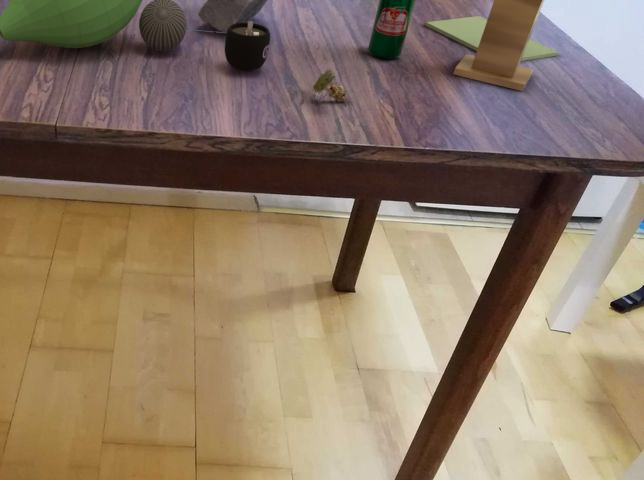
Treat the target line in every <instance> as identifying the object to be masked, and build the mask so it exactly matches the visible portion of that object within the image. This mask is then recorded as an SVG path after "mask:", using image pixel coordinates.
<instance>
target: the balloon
mask: <svg viewBox="0 0 644 480" xmlns="http://www.w3.org/2000/svg"><path fill="white" fill-rule="evenodd" d="M142 2H143V0H9V2H8V4H7V5H6V7H5V9H4V10H3V12H2V14H1V15H0V37H1V39H2V40H3V41H12V42H13V41H14V42H29V43H37V44H38V43H39V44H42V45H46V46H52V47H59V48H64V49H83V48H88V47H92V46H96V45H99V44H101V43H104V42H106V41H108V40H110V39H111V38H113V37H114V36H116V35H118V34H119V33H120V32H122V30H124V29H125V27H127V25H128V24H129V23H130V22H131V21H132V20H133V18H134V17H135V15H136V14H137V12H138V10H139V9H140V7H141V4H142Z"/></svg>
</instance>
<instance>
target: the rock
mask: <svg viewBox="0 0 644 480" xmlns="http://www.w3.org/2000/svg"><path fill="white" fill-rule="evenodd" d="M267 2H268V0H206V2H205V3H204V4H203V5H202V7H201V8H200V10H199V12H198V14H197V15H198V16H199V18H200V20H201V21H202V22H205V23H207V24H210V26H211V27H213V28H215V29H216V30H217V31H218V32H224V34H226V33H227V30H228V28H229V26H231V25H232V24H235V23H248V21H251V20H252V19H253V18H254V17H256V16H257V15H258V13H259V12H261V10H262V9H263V8H264V6H265V5H266V4H267Z"/></svg>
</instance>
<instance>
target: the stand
mask: <svg viewBox="0 0 644 480" xmlns="http://www.w3.org/2000/svg"><path fill="white" fill-rule="evenodd" d="M544 2H545V0H493V2H492V4H491V5H492V6H491V8H490V11H489V14H488V17H487V23H486V26H485V29H484V31H483V34H482V37H481V40H480V43H479V46H478V49H477V51H475V55H471V54H465V55H464V56H463V58H462V59H461V60H460V61H459V62H458V63H457V65H456V66H455V67H454V69H453V75H455V76H459V77H462V78H467V79H471V80H474V81H479V82H483V83H487V84H491V85H495V86H499V87H503V88H507V89H512V90H515V91H519V92H523V91H524V89H525V87H526V85H527V84H528V81H529V80H530V78H531V76H532V74H533V71H534V70H533V69H531V68H527V67H523V66H520V64H521V62H522V61H521V60H522V57H523V54H524V52H525V49H526V47H527V44H528V41H529V39H531V36H532V34H533V31H534V28H535V26H536V23H537V21H538V17H539V15H540V13H541V10H542V8H543V5H544Z"/></svg>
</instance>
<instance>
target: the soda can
mask: <svg viewBox="0 0 644 480" xmlns="http://www.w3.org/2000/svg"><path fill="white" fill-rule="evenodd" d="M415 3H416V0H379V1H378V4H377V5H378V6H377V9H376V14H375V17H374V21H373V26H372V31H371V33H370V34H371V35H370V39H369V42H368V43H369V44H368V47H367V49H368V52H369V54H370V55H371V56H372V57H374V58H377V59H380V60H387V61H389V60H395V59H397V58H399V57H400V56H401V55H402V53H403V48H404V44H405V40H406V37H407V33H408V30H409V27H410V22H411V18H412V14H413V12H414V11H413V10H414V7H415Z"/></svg>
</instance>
